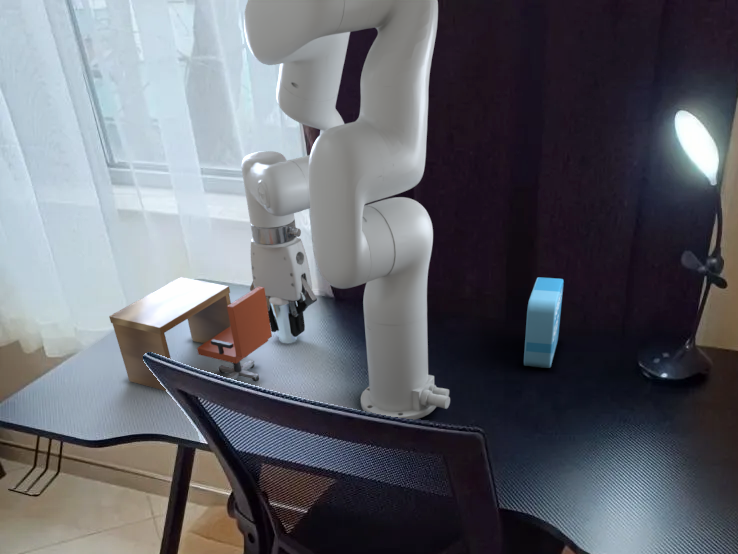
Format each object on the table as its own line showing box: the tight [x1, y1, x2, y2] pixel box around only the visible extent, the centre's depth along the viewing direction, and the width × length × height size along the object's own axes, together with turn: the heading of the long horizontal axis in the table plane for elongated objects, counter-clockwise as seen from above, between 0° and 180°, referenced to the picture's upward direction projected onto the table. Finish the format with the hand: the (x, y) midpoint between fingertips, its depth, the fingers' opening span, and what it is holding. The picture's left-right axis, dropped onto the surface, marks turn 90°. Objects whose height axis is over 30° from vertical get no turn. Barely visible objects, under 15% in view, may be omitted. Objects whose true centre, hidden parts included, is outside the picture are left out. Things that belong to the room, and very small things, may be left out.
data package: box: [523, 276, 565, 369], centre depth 134 cm, size 12×4×12 cm, turn 164°
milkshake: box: [269, 297, 298, 345], centre depth 144 cm, size 4×5×10 cm
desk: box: [108, 276, 232, 392], centre depth 137 cm, size 11×18×12 cm, turn 152°
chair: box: [196, 286, 273, 383], centre depth 131 cm, size 9×9×15 cm
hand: (288, 330), depth 146 cm, fingers closed on milkshake, 4 cm apart
